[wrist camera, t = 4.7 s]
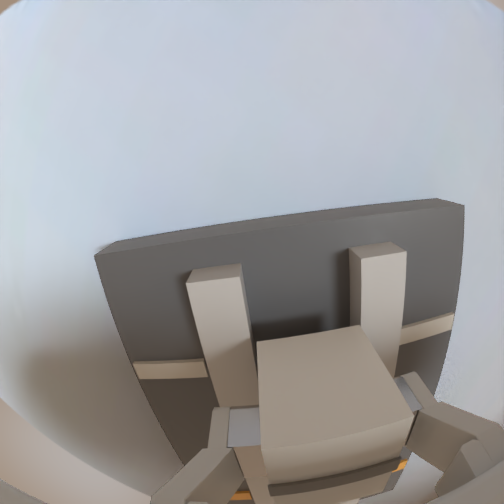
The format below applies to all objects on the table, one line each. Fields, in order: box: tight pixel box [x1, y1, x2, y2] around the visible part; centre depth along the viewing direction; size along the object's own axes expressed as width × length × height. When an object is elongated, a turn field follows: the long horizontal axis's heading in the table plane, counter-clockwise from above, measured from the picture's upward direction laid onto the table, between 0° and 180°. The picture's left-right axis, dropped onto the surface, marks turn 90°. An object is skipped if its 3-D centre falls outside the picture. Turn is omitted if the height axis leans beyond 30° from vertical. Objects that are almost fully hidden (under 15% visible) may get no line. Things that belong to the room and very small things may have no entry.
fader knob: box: [257, 325, 414, 504], centre depth 8 cm, size 3×4×5 cm
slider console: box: [94, 198, 464, 504], centre depth 13 cm, size 14×22×3 cm, turn 8°
